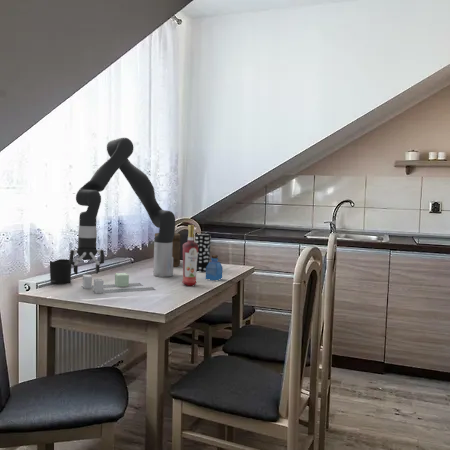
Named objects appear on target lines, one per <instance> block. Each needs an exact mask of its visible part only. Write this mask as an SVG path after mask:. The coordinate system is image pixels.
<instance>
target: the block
mask: <svg viewBox="0 0 450 450" xmlns="http://www.w3.org/2000/svg"><path fill="white" fill-rule="evenodd" d="M129 279H130V275H129V274H128V272H121V273H119V272H117V273H115V274H114V284H115V285H116V286H117V287H116V288H124V287H123V286H129V284H130V283H129V282H130V281H129Z"/></svg>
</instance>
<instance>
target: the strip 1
mask: <svg viewBox="0 0 450 450" xmlns="http://www.w3.org/2000/svg"><path fill="white" fill-rule="evenodd" d="M92 278H93V277H92V275H91V274H82V285H81V288H82V289H83V290H91V289H92V290H94V284H93V283H92V282H93V281H92V280H93V279H92ZM92 284H93V285H92ZM140 286H141V287H143V286H144V285H143V284H142V283H140V282H134V283H132V282H131V283H129V286H123V287H122V288H125V287H127V288H128V287H130V288H131V287H140ZM108 288H109V289H112V288H118V287H117V286H116V285H115V283H113V284H111V283H109V284H103V289H108Z"/></svg>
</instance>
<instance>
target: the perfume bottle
mask: <svg viewBox="0 0 450 450" xmlns="http://www.w3.org/2000/svg"><path fill="white" fill-rule="evenodd" d="M218 256H219V255H217V254H212V255H211V257H210V262H209V263H208V265H207V266H206V272H205V280H206V279H210V280H209V281H213V280H218V281H220V280H219V279H221V278H222V279H223V268H224V267H223V266H222V263H221V262H220V261H219V258H218ZM222 279H221V280H222Z"/></svg>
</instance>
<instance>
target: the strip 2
mask: <svg viewBox="0 0 450 450" xmlns="http://www.w3.org/2000/svg"><path fill="white" fill-rule="evenodd" d="M93 285H94V288H93V289H92V292H93V294H96V295H97V294H112V293H113V294H114V293H116V294H117V293H127V292H128V293H129V292H131V293H133V292H147V291H148V292H149V291H157V289H156V288H155V287H152V286H148V287H130V288H128V287H127V288H114V289H113V288H109V289H104V288H103V285H104V280H103V279H102V278H93Z"/></svg>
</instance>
